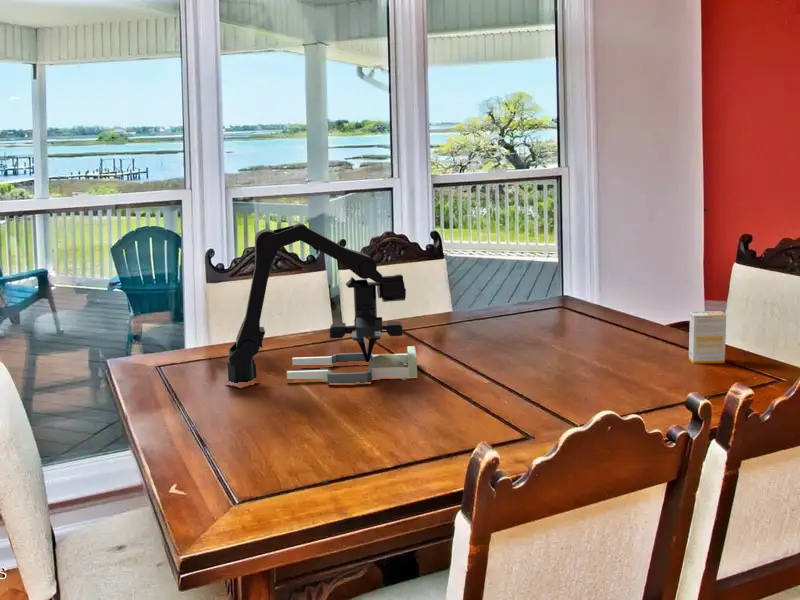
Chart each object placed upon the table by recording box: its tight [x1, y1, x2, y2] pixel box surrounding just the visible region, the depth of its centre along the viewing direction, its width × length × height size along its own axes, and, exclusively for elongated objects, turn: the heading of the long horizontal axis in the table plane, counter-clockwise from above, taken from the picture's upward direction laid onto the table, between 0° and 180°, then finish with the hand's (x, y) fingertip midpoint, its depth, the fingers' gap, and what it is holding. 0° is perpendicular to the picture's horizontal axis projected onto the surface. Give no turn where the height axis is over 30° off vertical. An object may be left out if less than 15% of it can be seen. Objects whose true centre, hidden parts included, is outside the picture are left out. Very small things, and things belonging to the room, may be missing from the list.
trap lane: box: [286, 351, 409, 384], centre depth 217 cm, size 31×20×3 cm, turn 91°
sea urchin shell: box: [368, 353, 405, 369], centre depth 217 cm, size 9×8×8 cm
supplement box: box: [688, 310, 727, 364], centre depth 217 cm, size 8×5×13 cm, turn 84°
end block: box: [406, 345, 418, 378], centre depth 217 cm, size 2×14×5 cm, turn 1°
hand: (367, 361), depth 217 cm, fingers closed
